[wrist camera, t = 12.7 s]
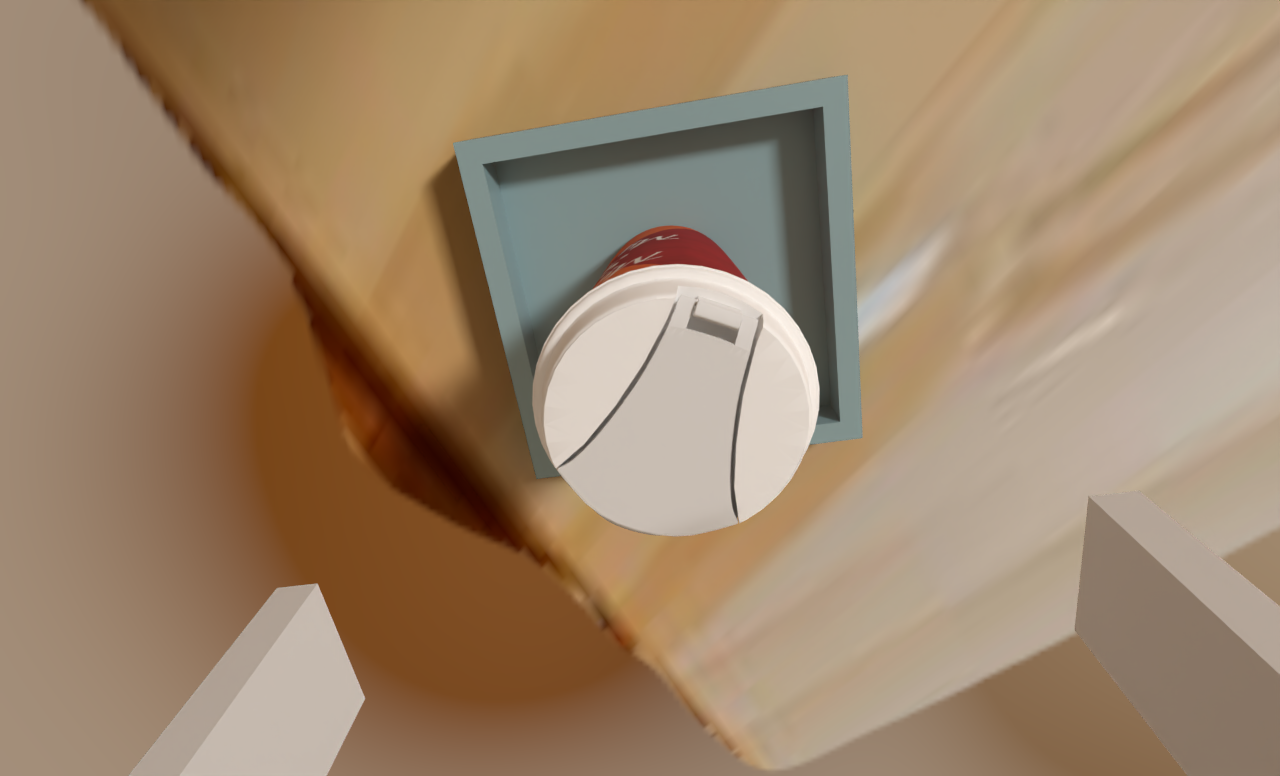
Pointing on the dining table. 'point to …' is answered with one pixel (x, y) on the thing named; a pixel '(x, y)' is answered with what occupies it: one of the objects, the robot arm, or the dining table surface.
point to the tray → (677, 219)
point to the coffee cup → (675, 390)
